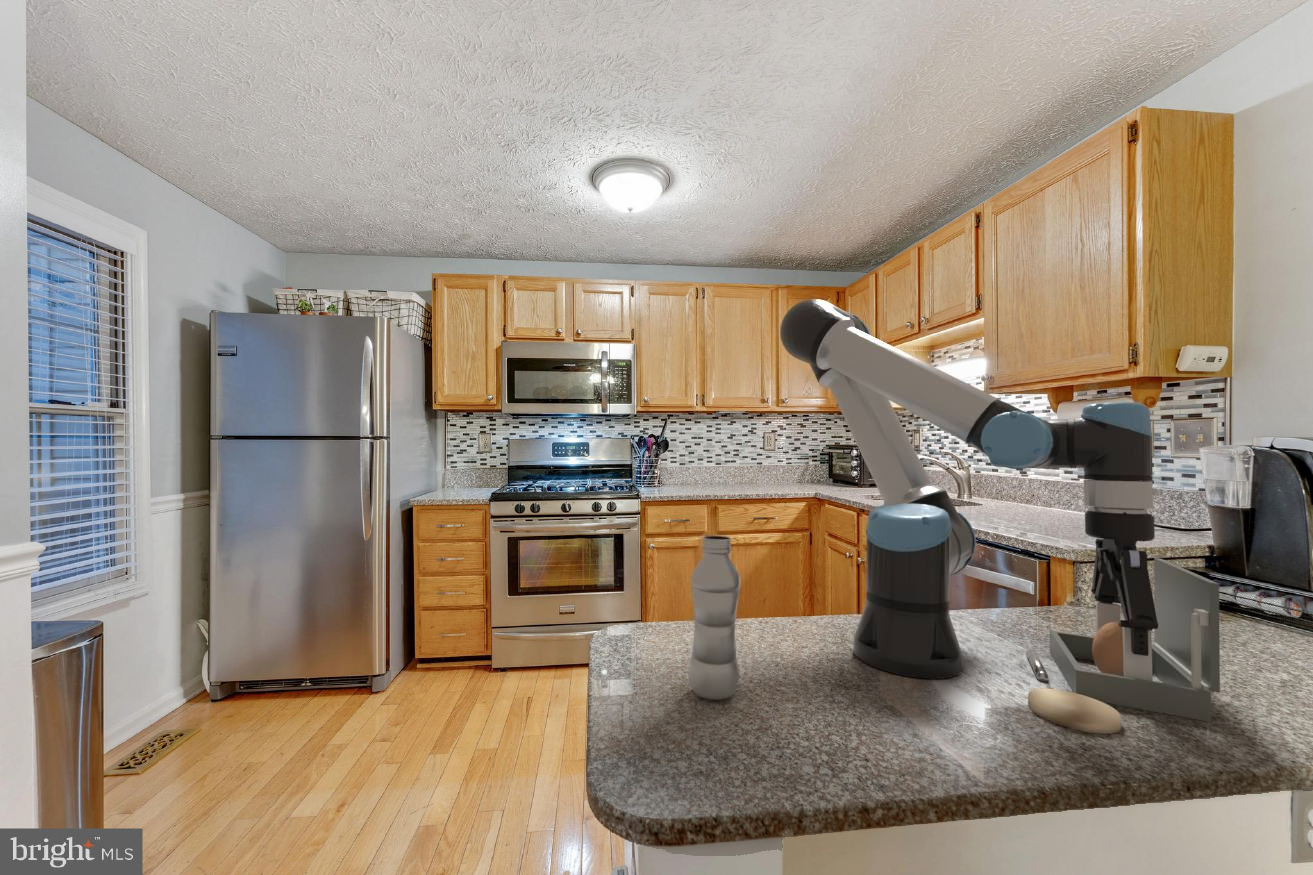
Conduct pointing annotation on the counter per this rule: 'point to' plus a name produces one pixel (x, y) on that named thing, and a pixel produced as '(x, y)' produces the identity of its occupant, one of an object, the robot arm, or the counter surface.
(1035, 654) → the rod
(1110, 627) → the egg
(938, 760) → the counter surface
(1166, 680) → the grey hinged box
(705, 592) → the plastic bottle
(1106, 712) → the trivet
